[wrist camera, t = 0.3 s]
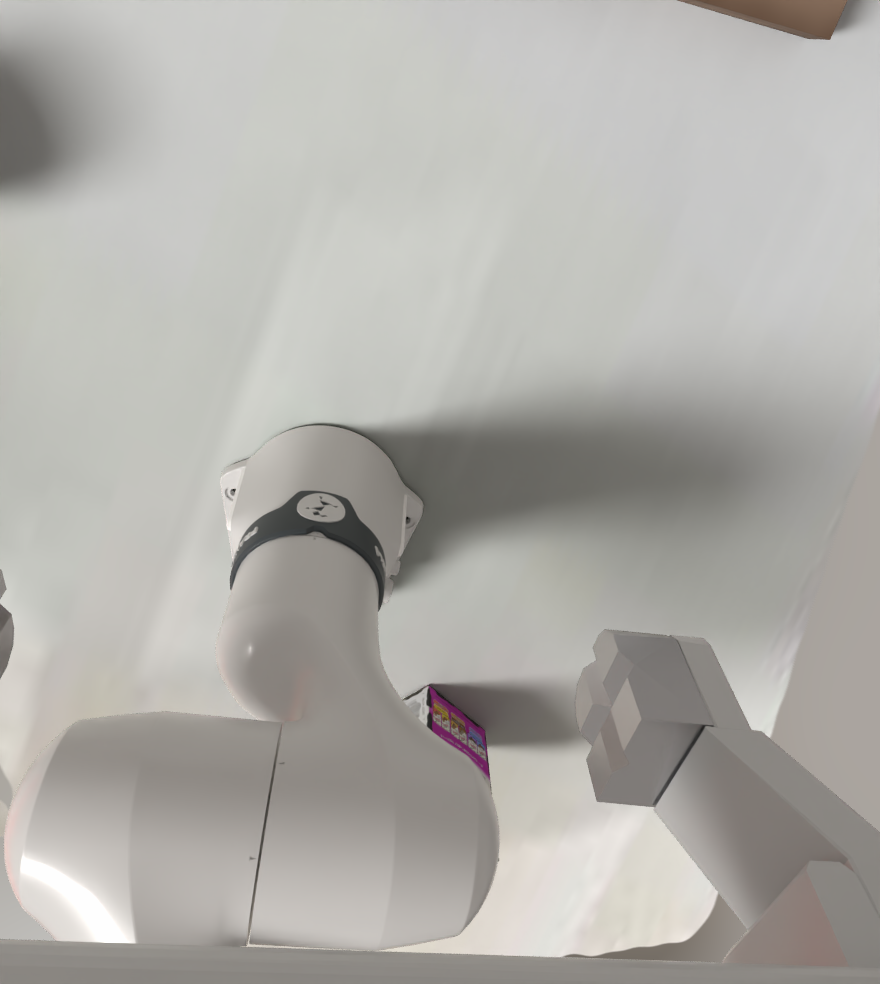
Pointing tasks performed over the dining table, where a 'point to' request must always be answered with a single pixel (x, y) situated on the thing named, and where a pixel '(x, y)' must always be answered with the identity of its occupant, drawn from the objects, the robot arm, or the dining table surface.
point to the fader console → (783, 14)
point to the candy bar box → (451, 727)
